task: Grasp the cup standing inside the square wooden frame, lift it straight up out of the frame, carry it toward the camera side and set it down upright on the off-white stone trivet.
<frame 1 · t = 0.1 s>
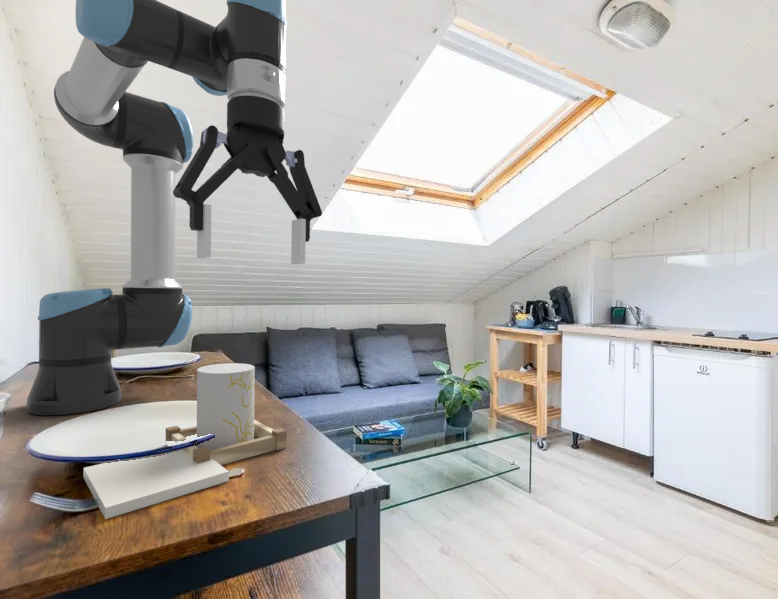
hand: (254, 261, 58), 28 cm above the table, fingers open, 13 cm apart
square wooden frame: (225, 446, 64), on the table
trivet: (155, 479, 52), on the table
cup: (225, 447, 64), resting in square wooden frame
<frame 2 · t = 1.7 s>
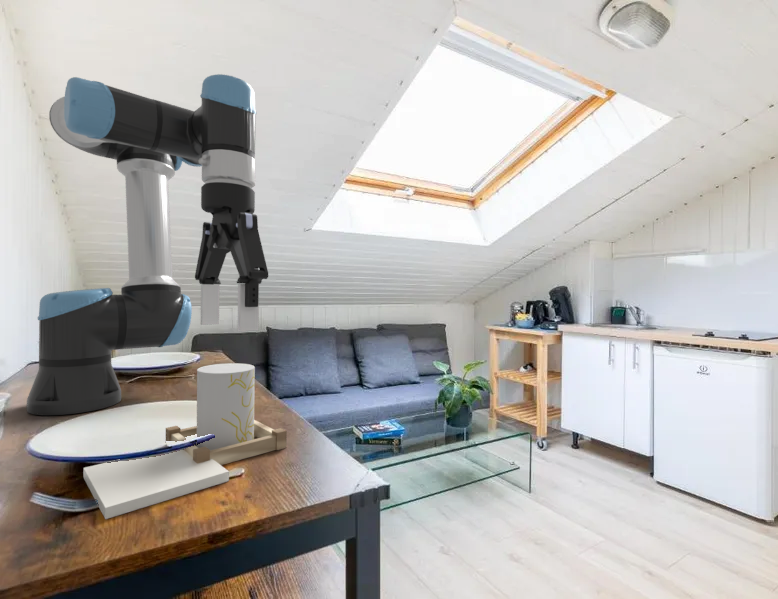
hand: (227, 327, 63), 18 cm above the table, fingers open, 13 cm apart
nothing on the table moved.
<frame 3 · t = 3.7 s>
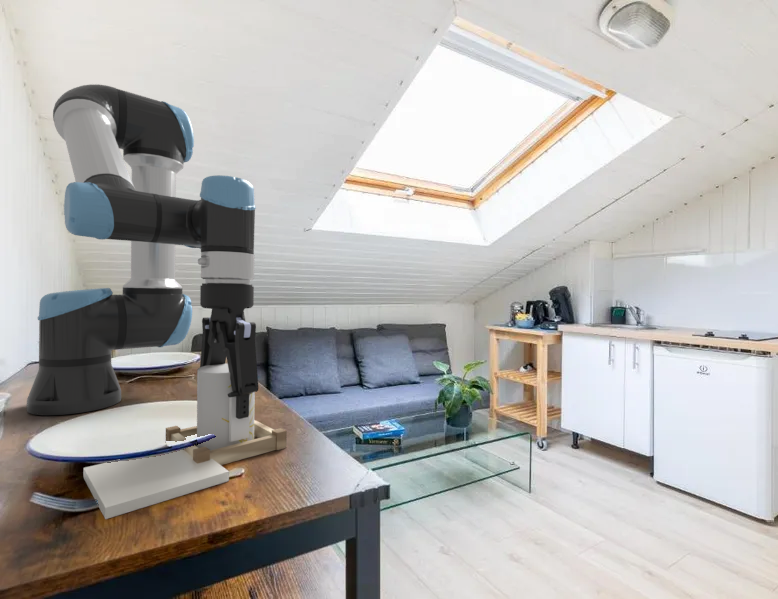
hand: (226, 431, 64), 2 cm above the table, fingers closed on cup, 8 cm apart
cup: (226, 447, 64), resting in square wooden frame, touching gripper
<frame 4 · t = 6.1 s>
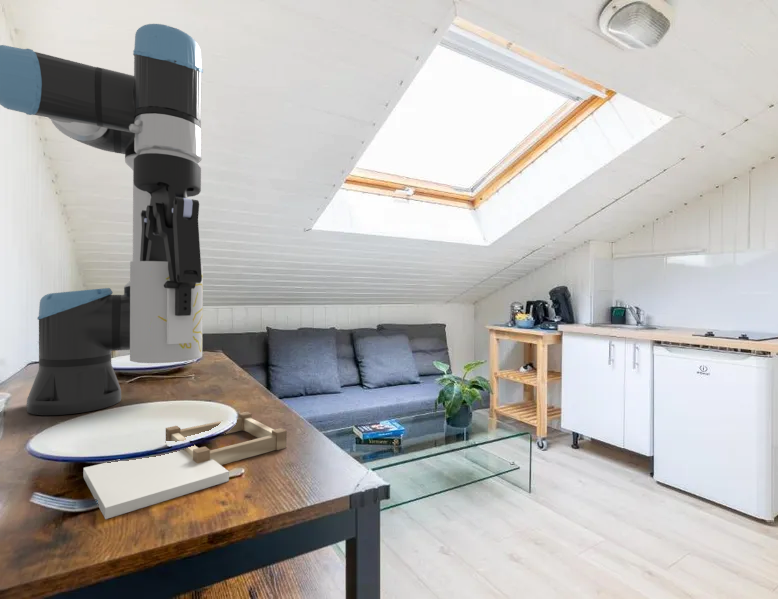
hand: (167, 339, 53), 17 cm above the table, fingers closed on cup, 8 cm apart
cup: (167, 359, 53), point 15 cm above the table, touching gripper
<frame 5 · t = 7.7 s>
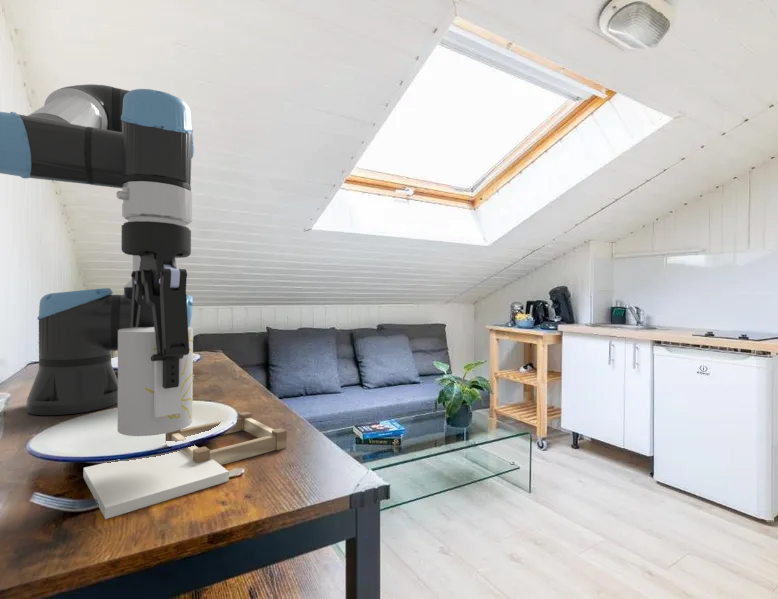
hand: (156, 406, 52), 9 cm above the table, fingers closed on cup, 8 cm apart
cup: (156, 426, 52), point 7 cm above the table, touching gripper
when the fingers open (5 cm above the table, at t = 9.0 s): cup drops 1 cm, resting on trivet.
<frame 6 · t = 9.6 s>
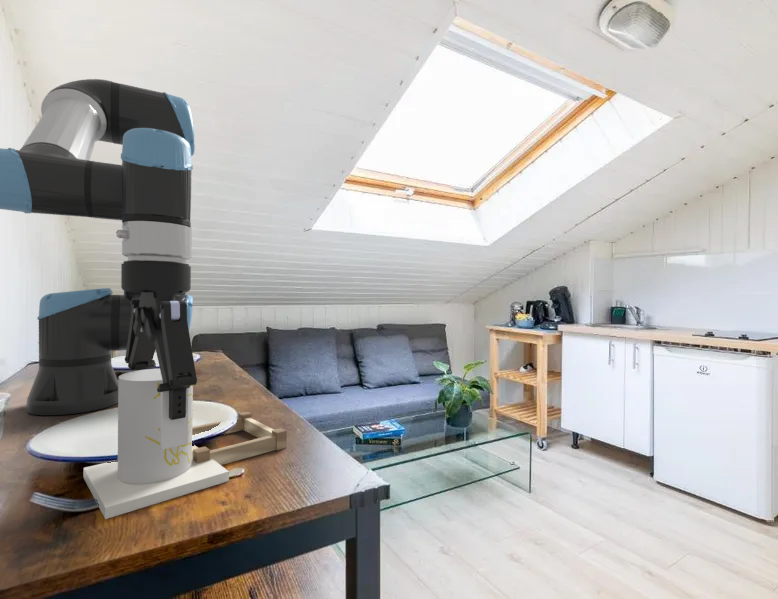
hand: (156, 430, 52), 6 cm above the table, fingers open, 13 cm apart
cup: (156, 470, 52), point 1 cm above the table, touching trivet
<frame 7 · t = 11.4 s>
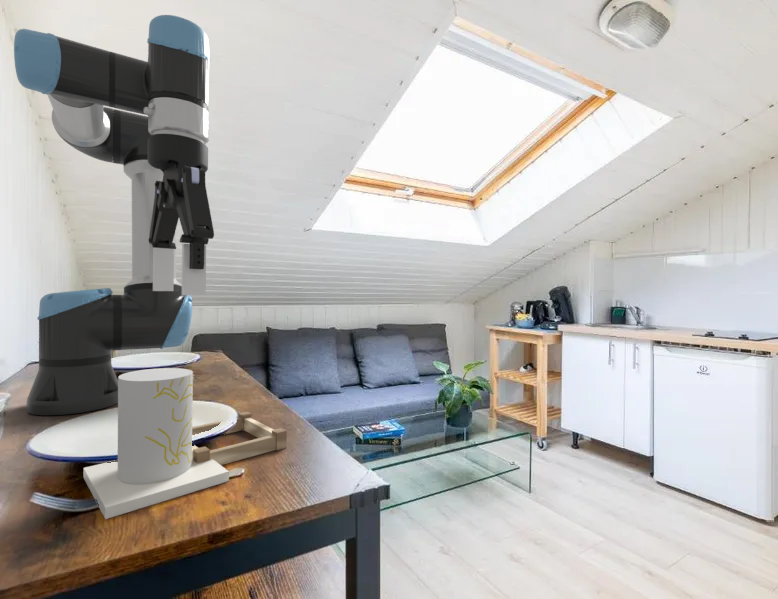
hand: (177, 293, 59), 23 cm above the table, fingers open, 13 cm apart
nothing on the table moved.
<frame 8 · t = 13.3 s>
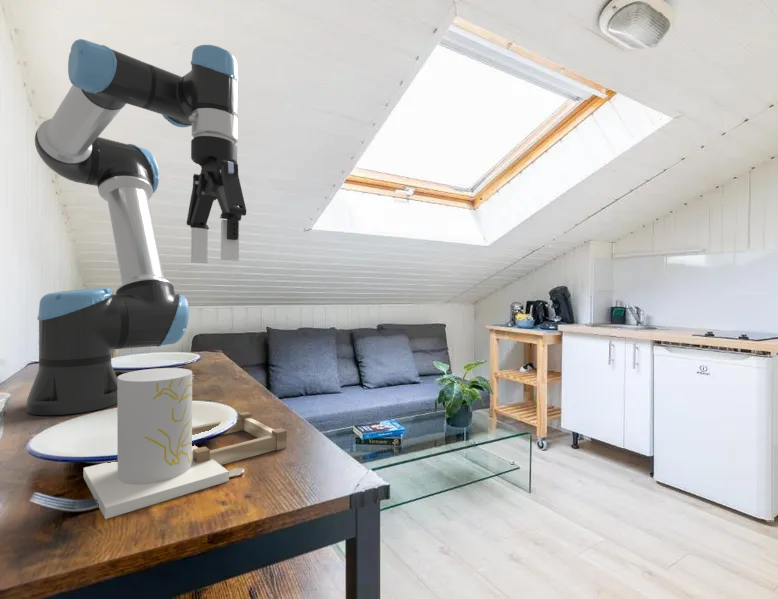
hand: (213, 261, 74), 29 cm above the table, fingers open, 13 cm apart
nothing on the table moved.
at the end: cup inside the target area (0.1 cm from its centre), point 1.0 cm above the table; cup tilted 0°; the gripper is holding nothing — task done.
